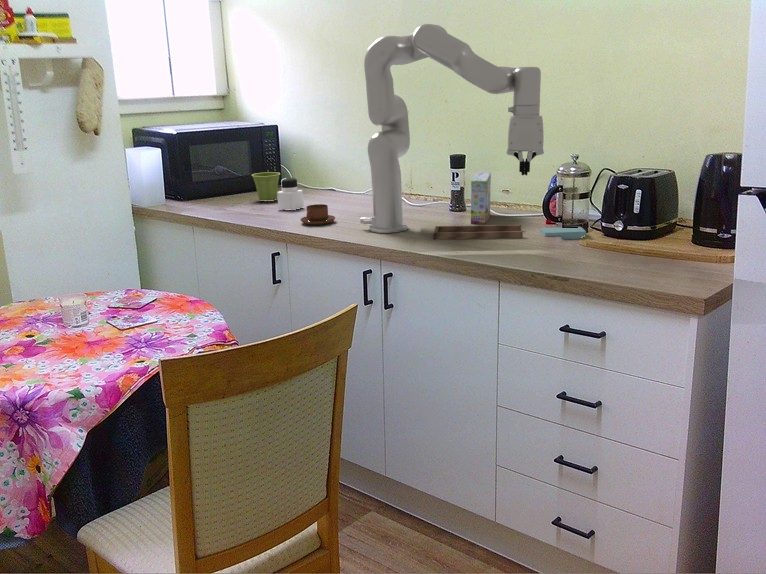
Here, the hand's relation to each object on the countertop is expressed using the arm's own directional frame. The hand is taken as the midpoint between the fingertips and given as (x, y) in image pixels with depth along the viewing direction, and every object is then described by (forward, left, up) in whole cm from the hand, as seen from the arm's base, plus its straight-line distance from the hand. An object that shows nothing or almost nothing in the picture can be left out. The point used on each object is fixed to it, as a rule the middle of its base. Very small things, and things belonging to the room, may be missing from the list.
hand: (524, 174), depth 221 cm
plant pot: (-101, +75, -19) cm, 127 cm away
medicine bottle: (-86, +54, -19) cm, 103 cm away
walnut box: (-14, -3, -18) cm, 23 cm away
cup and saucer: (-69, +26, -19) cm, 76 cm away
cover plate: (+11, -2, -19) cm, 22 cm away
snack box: (-13, +24, -19) cm, 33 cm away
